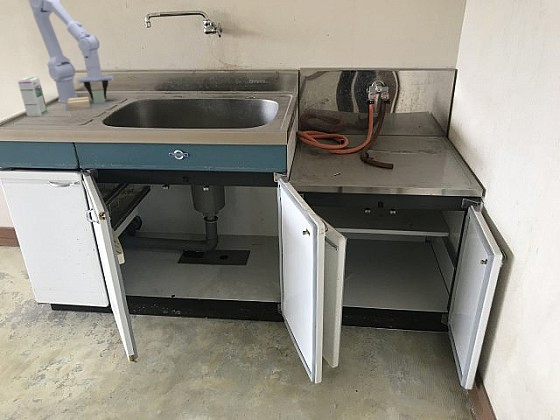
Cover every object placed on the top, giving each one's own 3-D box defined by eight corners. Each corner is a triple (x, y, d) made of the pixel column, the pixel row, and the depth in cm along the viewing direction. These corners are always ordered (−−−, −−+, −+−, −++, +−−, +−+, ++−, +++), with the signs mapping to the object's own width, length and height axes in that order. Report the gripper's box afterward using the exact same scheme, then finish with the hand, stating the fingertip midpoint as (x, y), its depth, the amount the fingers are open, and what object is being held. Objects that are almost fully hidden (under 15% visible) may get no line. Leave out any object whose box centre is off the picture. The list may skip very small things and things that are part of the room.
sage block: (94, 101, 206) (91, 89, 204) (104, 100, 208) (102, 88, 206) (94, 103, 203) (92, 91, 200) (105, 102, 204) (103, 90, 202)
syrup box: (41, 117, 186) (32, 79, 180) (26, 117, 186) (17, 80, 180) (48, 113, 191) (39, 76, 185) (33, 113, 191) (24, 77, 185)
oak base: (69, 105, 200) (68, 98, 198) (89, 103, 202) (88, 96, 201) (69, 110, 193) (68, 102, 192) (90, 108, 196) (88, 100, 194)
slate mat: (66, 104, 204) (66, 103, 204) (107, 100, 209) (107, 99, 209) (65, 112, 192) (65, 111, 192) (109, 108, 197) (109, 106, 197)
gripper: (74, 69, 193) (81, 102, 199) (111, 66, 197) (117, 99, 204) (74, 66, 199) (81, 99, 205) (110, 64, 203) (116, 95, 209)
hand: (99, 99), depth 205 cm, fingers closed on sage block, 4 cm apart
